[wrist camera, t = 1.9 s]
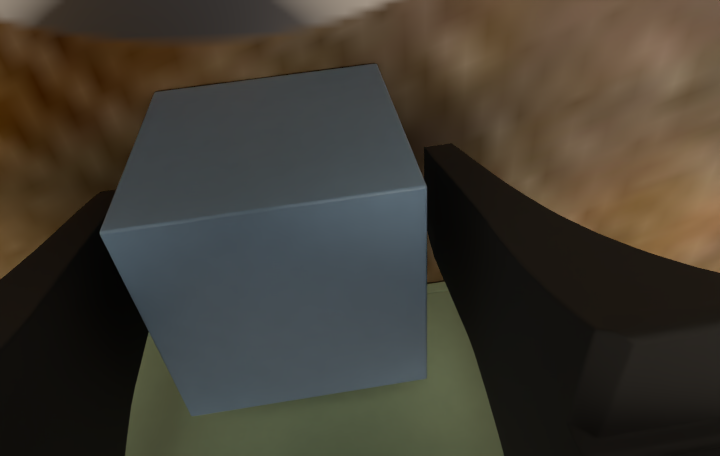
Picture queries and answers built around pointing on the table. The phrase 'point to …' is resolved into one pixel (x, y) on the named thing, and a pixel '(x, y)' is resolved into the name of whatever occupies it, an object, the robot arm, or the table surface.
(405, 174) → the cube
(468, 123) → the table surface
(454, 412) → the green open box
